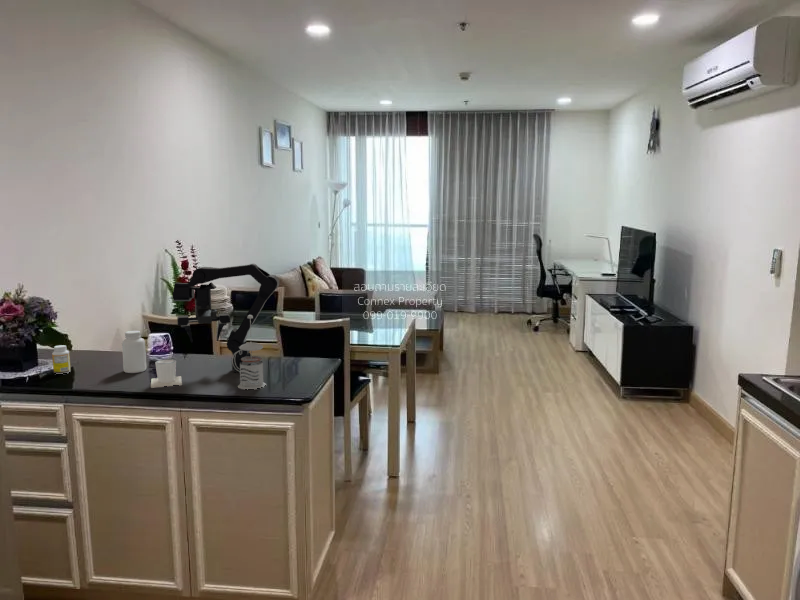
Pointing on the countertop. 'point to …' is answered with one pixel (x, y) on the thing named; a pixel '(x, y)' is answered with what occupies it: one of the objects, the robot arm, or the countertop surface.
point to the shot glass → (166, 370)
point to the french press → (247, 380)
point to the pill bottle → (133, 352)
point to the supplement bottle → (61, 359)
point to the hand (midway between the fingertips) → (204, 341)
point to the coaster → (157, 384)
